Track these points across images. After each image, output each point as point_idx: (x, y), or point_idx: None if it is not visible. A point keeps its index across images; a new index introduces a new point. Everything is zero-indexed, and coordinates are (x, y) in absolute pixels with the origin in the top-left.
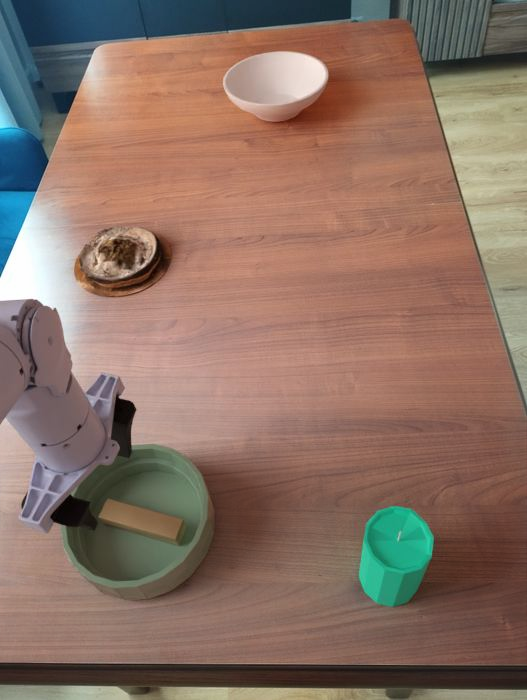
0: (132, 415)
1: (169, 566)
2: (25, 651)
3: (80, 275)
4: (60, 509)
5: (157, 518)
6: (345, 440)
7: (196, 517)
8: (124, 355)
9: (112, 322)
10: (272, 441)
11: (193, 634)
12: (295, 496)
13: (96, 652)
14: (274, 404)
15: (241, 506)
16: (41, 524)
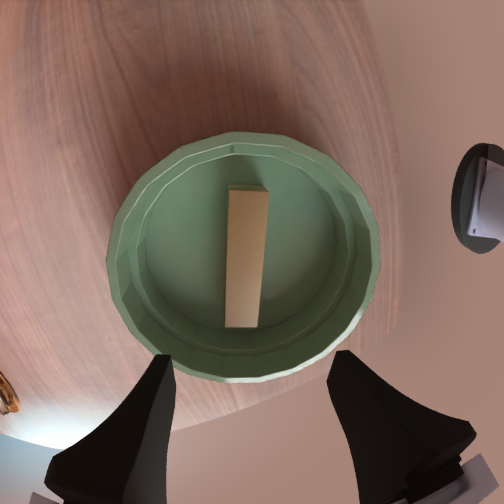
0: (77, 487)
1: (342, 180)
2: (394, 319)
3: (14, 407)
4: (439, 475)
5: (238, 237)
6: (51, 18)
7: (208, 173)
8: (38, 358)
9: (22, 376)
10: (56, 107)
11: (372, 133)
12: (138, 36)
13: (398, 250)
14: (10, 134)
15: (169, 107)
16: (494, 482)
